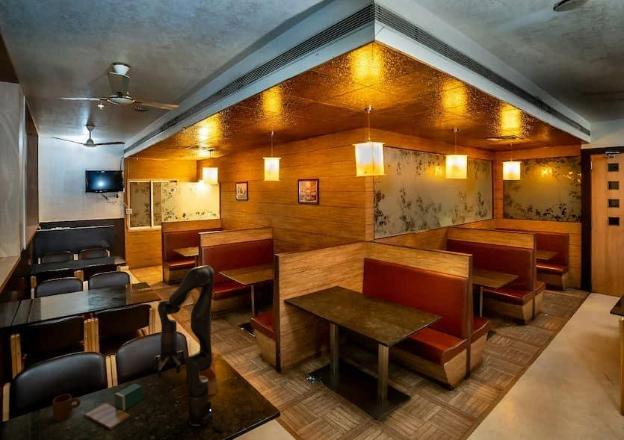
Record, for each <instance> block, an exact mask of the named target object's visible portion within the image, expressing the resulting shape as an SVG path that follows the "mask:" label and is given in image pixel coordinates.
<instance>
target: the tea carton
mask: <svg viewBox="0 0 624 440" xmlns="http://www.w3.org/2000/svg"><path fill="white" fill-rule="evenodd" d="M142 388H143V386H142V385H140V384H138V383H132V384H131V385H129V386H127V387H125V388H124V389H122V390H120V391H118V392H115V393H114V407H115V408H117V409H119V410H121V411H123V412H125V411H126V410H128V409H129V408H131V407H132V406H134V405H135V404H138V403H139V402H140V401H142V400H143V389H142Z"/></svg>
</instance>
